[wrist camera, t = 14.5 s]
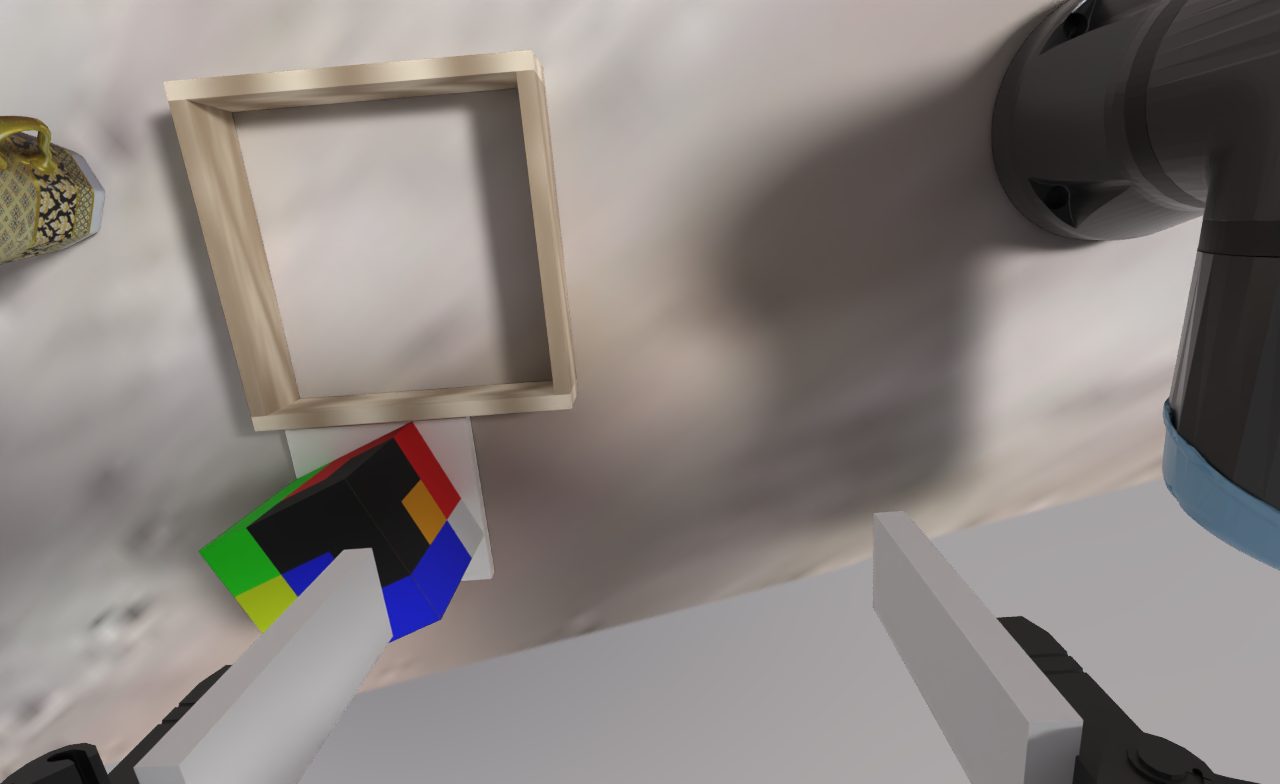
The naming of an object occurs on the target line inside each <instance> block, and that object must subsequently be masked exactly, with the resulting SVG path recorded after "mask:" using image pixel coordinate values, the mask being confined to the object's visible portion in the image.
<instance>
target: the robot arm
mask: <svg viewBox="0 0 1280 784" xmlns="http://www.w3.org/2000/svg"><path fill="white" fill-rule="evenodd" d="M992 148H993V156H994V162H995V166H996V170H997V173H998V176H999V179H1000V181H1001V183H1002V186H1003V188H1004V190H1005V192H1006V193H1007V195H1008V197H1009V198H1010V200H1011V201H1012V202H1013V204H1014V205H1015V206H1016V208H1017V209H1018V210H1019V211H1020V212H1021V213H1022V214H1023V215H1024V216H1025V217H1027V218H1028V219H1029V220H1030V221H1032V222H1033V223H1034V224H1036V225H1038V226H1039V227H1041V228H1043V229H1045V230H1047V231H1049V232H1051V233H1054V234H1057V235H1060V236H1063V237H1068V238H1073V239H1081V240H1124V239H1131V238H1137V237H1142V236H1146V235H1150V234H1153V233H1156V232H1159V231H1162V230H1165V229H1167V228H1170V227H1173V226H1175V225H1178V224H1181V223H1183V222H1186V221H1189V220H1191V219H1194V218H1197V217H1199V216H1202V215H1204V216H1203V222H1202V228H1201V234H1200V240H1199V246H1198V248H1197V255H1196V260H1195V266H1194V271H1193V277H1192V282H1191V287H1190V292H1189V298H1188V303H1187V308H1186V313H1185V319H1184V324H1183V329H1182V334H1181V340H1180V345H1179V350H1178V355H1177V361H1176V366H1175V371H1174V376H1173V382H1172V387H1171V392H1170V396H1169V397H1168V399H1167V400H1166V401H1165V403H1164V407H1163V419H1164V423H1165V426H1166V436H1165V444H1164V453H1163V462H1162V471H1163V477H1164V481H1165V483H1166V486H1167V488H1168V490H1169V491H1170V492H1171V493H1172V495H1173V496H1174V497H1175V498H1176V499H1177V501H1178V502H1179V504H1180V506H1181V508H1182V509H1183V510H1184V511H1185V512H1186V513H1187V514H1188V515H1189V516H1190V517H1191V518H1192V519H1193V520H1195V521H1196V522H1197V523H1198V524H1200V525H1201V526H1202V527H1203V528H1204V529H1206V530H1207V531H1209V532H1210V533H1211V534H1213V535H1214V536H1216V537H1217V538H1219V539H1221V540H1222V541H1224V542H1225V543H1227V544H1229V545H1230V546H1232V547H1234V548H1236V549H1237V550H1239V551H1241V552H1243V553H1245V554H1247V555H1249V556H1251V557H1253V558H1255V559H1256V560H1258V561H1261V562H1263V563H1265V564H1267V565H1269V566H1271V567H1273V568H1275V569H1278V570H1280V0H1069V1H1067V2H1066V3H1064V4H1063V5H1062V6H1060V7H1059V8H1058V9H1056V10H1055V11H1054V12H1053V13H1051V14H1050V15H1049V16H1048V17H1047V18H1046V19H1045V20H1044V21H1043V22H1042V23H1041V24H1040V25H1039V26H1038V27H1037V28H1036V29H1035V30H1034V31H1033V32H1032V33H1031V35H1030V36H1029V37H1028V38H1027V40H1026V41H1025V42H1024V44H1023V45H1022V46H1021V48H1020V49H1019V51H1018V53H1017V54H1016V56H1015V57H1014V59H1013V61H1012V63H1011V65H1010V66H1009V68H1008V71H1007V73H1006V75H1005V77H1004V79H1003V82H1002V85H1001V87H1000V90H999V94H998V97H997V101H996V105H995V110H994V115H993V124H992ZM873 608H874V610H875V611H876V613H877V615H878V617H879V619H880V621H881V622H882V624H883V626H884V627H885V629H886V631H887V633H888V635H889V637H890V638H891V640H892V642H893V644H894V645H895V647H896V649H897V651H898V653H899V655H900V656H901V658H902V660H903V662H904V664H905V665H906V667H907V669H908V671H909V673H910V674H911V676H912V678H913V680H914V682H915V683H916V685H917V687H918V689H919V691H920V692H921V694H922V696H923V698H924V700H925V701H926V703H927V705H928V707H929V708H930V710H931V712H932V714H933V716H934V718H935V719H936V721H937V723H938V725H939V727H940V728H941V730H942V732H943V734H944V735H945V737H946V739H947V741H948V743H949V745H950V746H951V748H952V750H953V752H954V754H955V755H956V757H957V759H958V761H959V763H960V764H961V766H962V768H963V770H964V772H965V773H966V775H967V777H968V779H969V781H970V782H971V784H1259V783H1254V782H1249V781H1244V780H1239V779H1234V778H1229V777H1225V776H1221V775H1218V774H1214V773H1213V772H1212V771H1211V769H1210V768H1209V767H1208V766H1207V765H1206V764H1205V762H1203V761H1202V760H1201V759H1199V758H1198V757H1196V756H1195V755H1194V754H1192V753H1191V752H1189V751H1188V750H1186V749H1185V748H1183V747H1181V746H1179V745H1177V744H1175V743H1173V742H1171V741H1169V740H1167V739H1165V738H1162V737H1159V736H1155V735H1151V734H1148V733H1144V732H1143V731H1141V729H1140V728H1139V727H1138V726H1137V725H1136V724H1135V723H1134V722H1133V721H1132V720H1131V719H1130V718H1129V717H1128V716H1127V715H1126V714H1125V713H1124V711H1122V709H1121V708H1120V707H1119V706H1118V705H1117V704H1116V703H1115V702H1114V701H1113V700H1112V699H1111V698H1110V697H1109V696H1108V695H1107V694H1106V693H1105V691H1104V690H1103V689H1102V688H1101V687H1100V686H1099V685H1098V684H1097V683H1096V682H1095V681H1094V680H1093V679H1092V678H1091V677H1090V676H1089V675H1088V674H1087V673H1084V672H1083V669H1082V667H1081V666H1080V665H1079V664H1078V663H1077V662H1076V661H1075V660H1074V659H1073V658H1072V657H1071V656H1068V654H1067V651H1066V650H1064V648H1063V647H1062V646H1061V645H1060V644H1059V643H1058V642H1057V641H1056V640H1055V639H1054V638H1053V637H1052V636H1051V635H1050V634H1049V633H1048V632H1047V631H1045V630H1044V629H1042V628H1040V627H1039V626H1037V625H1035V624H1034V623H1032V622H1030V621H1029V620H1027V619H1026V618H1024V617H1022V616H1018V617H1002V618H996V617H995V616H994V615H993V614H992V613H991V611H990V610H989V609H988V608H987V607H986V606H985V604H984V603H983V602H982V601H981V600H980V599H979V597H978V596H977V595H976V594H975V593H974V591H973V590H972V589H971V588H970V587H969V586H968V584H967V583H966V582H965V581H964V580H963V579H962V577H961V576H960V575H959V574H958V573H957V572H956V570H955V569H954V568H953V567H952V566H951V565H950V563H949V562H948V561H947V560H946V559H945V558H944V556H943V555H942V554H941V553H940V552H939V551H938V549H937V548H936V547H935V546H934V545H933V543H932V542H931V541H930V540H929V539H928V538H927V536H926V535H925V534H924V533H923V532H922V530H921V529H920V528H919V527H918V526H917V525H916V523H915V522H914V521H913V520H912V519H911V518H910V516H909V515H908V514H907V513H906V512H905V511H894V512H880V513H874V548H873ZM392 637H393V634H392V630H391V626H390V622H389V618H388V613H387V609H386V605H385V601H384V597H383V593H382V588H381V584H380V580H379V576H378V572H377V568H376V564H375V559H374V555H373V551H372V548H363V549H349V550H343V551H342V552H341V553H340V554H339V555H338V556H337V557H336V558H335V560H334V561H333V562H332V563H331V564H330V565H329V566H328V567H327V568H326V569H325V570H324V571H323V572H322V573H321V574H320V575H319V576H318V577H317V578H316V579H315V580H314V581H313V582H312V583H311V584H310V585H309V586H308V587H307V588H306V590H305V591H304V592H303V593H302V594H301V595H300V596H299V597H298V598H297V599H296V600H295V601H294V602H293V603H292V604H291V605H290V606H289V607H288V608H287V609H286V610H285V611H284V612H283V613H282V614H281V615H280V616H279V617H278V619H277V620H276V621H275V622H274V623H273V624H272V625H271V626H270V627H269V628H268V629H267V630H266V631H265V632H264V633H263V634H262V635H261V636H260V637H259V638H258V639H257V640H256V641H255V642H254V643H253V644H252V645H251V646H250V647H249V649H248V650H247V651H246V652H245V653H244V654H243V655H242V656H241V657H240V658H239V659H238V660H237V661H236V662H235V663H234V664H233V665H225V666H224V667H222V668H221V669H220V670H218V671H217V672H215V673H214V674H212V675H211V676H209V677H208V678H206V679H205V680H203V681H202V682H200V683H199V684H198V685H197V686H196V687H195V688H194V689H193V690H192V691H191V692H190V693H189V694H188V695H187V696H186V697H185V698H184V699H183V700H182V701H181V702H180V703H179V707H175V708H174V709H173V710H172V711H171V712H170V713H169V714H168V715H167V716H166V717H165V718H164V719H163V720H162V724H158V725H157V726H156V727H155V728H154V729H153V730H152V731H151V732H150V733H149V734H148V735H147V736H146V737H145V738H144V739H143V740H142V741H141V742H140V743H139V744H138V745H137V746H136V747H135V748H134V749H133V750H132V751H131V752H130V753H129V754H128V755H127V756H126V757H125V758H124V759H123V760H122V761H121V762H120V763H119V764H118V765H117V766H116V767H115V768H114V769H113V770H112V771H111V772H110V773H109V774H108V775H107V772H106V770H105V767H104V765H103V763H102V760H101V758H100V756H99V753H98V751H97V748H96V746H95V745H91V744H88V743H81V744H73V745H68V746H65V747H62V748H59V749H57V750H54V751H51V752H49V753H47V754H45V755H43V756H41V757H39V758H37V759H35V760H33V761H31V762H29V763H27V764H26V765H24V766H23V767H22V768H20V769H19V770H17V771H16V772H14V773H13V774H11V775H10V776H8V777H7V778H6V779H5V780H4V781H3V782H2V783H1V784H298V782H299V781H300V779H301V778H302V776H303V775H304V773H305V771H306V770H307V768H308V767H309V765H310V764H311V762H312V761H313V759H314V757H315V756H316V754H317V753H318V751H319V750H320V748H321V746H322V745H323V744H324V742H325V741H326V739H327V737H328V736H329V734H330V733H331V731H332V730H333V728H334V726H335V725H336V723H337V722H338V720H339V719H340V717H341V716H342V714H343V713H344V711H345V709H346V708H347V706H348V705H349V703H350V702H351V700H352V699H353V697H354V696H355V694H356V693H357V691H358V689H359V688H360V686H361V685H362V683H363V682H364V680H365V679H366V677H367V675H368V674H369V672H370V671H371V669H372V668H373V666H374V665H375V663H376V662H377V660H378V658H379V657H380V655H381V654H382V652H383V651H384V649H385V648H386V646H387V645H388V643H389V641H390V640H391V638H392Z"/></svg>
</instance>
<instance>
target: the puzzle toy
mask: <svg viewBox="0 0 1280 784" xmlns="http://www.w3.org/2000/svg"><path fill="white" fill-rule="evenodd" d="M483 536H484V533H483V532H482V530H481V529H480V527H479V525H478V524H477V522H476V521H475V519H474V518H473V516H472V514H471V513H470V511H469V510H468V508H467V507H466V505H465V503H464V502H463V500H462V499H461V497H460V495H459V494H458V492H457V491H456V489H455V488H454V486H453V484H452V483H451V481H450V480H449V478H448V477H447V475H446V473H445V472H444V470H443V469H442V467H441V466H440V464H439V462H438V461H437V459H436V458H435V456H434V455H433V453H432V451H431V450H430V448H429V447H428V445H427V444H426V442H425V440H424V439H423V437H422V436H421V434H420V432H419V431H418V429H417V428H416V426H415V425H414V423H413V421H411V422H409V423H407V424H405V425H404V426H402V427H400V428H398V429H396V430H394V431H392V432H390V433H388V434H386V435H384V436H382V437H380V438H378V439H376V440H374V441H372V442H370V443H368V444H366V445H364V446H362V447H360V448H358V449H356V450H354V451H352V452H350V453H348V454H346V455H344V456H342V457H340V458H338V459H336V460H334V461H332V462H330V463H328V464H326V465H324V466H322V467H320V468H318V469H316V470H314V471H312V472H310V473H308V474H306V475H304V476H302V477H300V478H298V479H296V480H295V481H293V482H292V483H291V484H289V485H288V486H286V487H285V488H284V489H282V490H281V491H280V492H278V493H277V494H276V495H274V496H273V497H272V498H270V499H269V500H267V501H266V502H265V503H263V504H262V505H261V506H259V507H258V508H257V509H255V510H254V511H253V512H251V513H250V514H248V515H247V516H246V517H244V518H243V519H242V520H240V521H239V522H238V523H236V524H235V525H234V526H232V527H231V528H229V529H228V530H227V531H225V532H224V533H223V534H221V535H220V536H219V537H217V538H216V539H215V540H213V541H212V542H210V543H209V544H208V545H206V546H205V547H204V548H202V549H201V550H200V551H198V552H199V553H200V554H201V555H202V557H203V558H204V559H205V561H206V562H207V563H208V564H209V566H210V567H211V568H212V569H213V571H214V572H215V573H216V575H217V576H218V577H219V578H220V580H221V581H222V582H223V584H224V585H225V586H226V587H227V589H228V590H229V591H230V592H231V594H232V595H233V596H234V598H235V599H236V600H237V601H238V603H239V604H240V605H241V606H242V608H243V609H244V610H245V612H246V613H247V614H248V615H249V617H250V618H251V619H252V621H253V622H254V623H255V624H256V626H257V627H258V628H259V629H260V631H261V632H262V633H264V632H265V631H266V630H267V629H268V628H269V627H270V626H271V625H272V624H273V623H274V622H275V621H276V620H277V619H278V617H279V616H280V615H281V614H282V613H283V612H284V611H285V610H286V609H287V608H288V607H289V606H290V605H291V604H292V603H293V602H294V601H295V600H296V599H297V598H298V597H299V596H300V595H301V594H302V593H303V592H304V591H305V590H306V588H307V587H308V586H309V585H310V584H311V583H312V582H313V581H314V580H315V579H316V578H317V577H318V576H319V575H320V574H321V573H322V572H323V571H324V570H325V569H326V568H327V567H328V566H329V565H330V564H331V563H332V562H333V561H334V560H335V558H336V557H337V556H338V555H339V554H340V553H341V552H342V551H343V550H349V549H363V548H372V551H373V555H374V559H375V564H376V568H377V572H378V576H379V580H380V584H381V588H382V593H383V597H384V601H385V605H386V609H387V613H388V618H389V622H390V626H391V630H392V634H393V637H392V638H391V640H390V641H389V643H390V642H392V641H394V640H396V639H399V638H401V637H403V636H405V635H408V634H410V633H412V632H414V631H416V630H419V629H421V628H423V627H425V626H428V625H430V624H432V623H434V622H436V621H439V620H441V619H442V617H443V615H444V613H445V611H446V609H447V607H448V605H449V603H450V601H451V599H452V597H453V595H454V593H455V591H456V589H457V587H458V585H459V583H460V581H461V579H462V577H463V575H464V573H465V572H466V570H467V568H468V566H469V564H470V562H471V560H472V558H473V556H474V554H475V552H476V550H477V548H478V546H479V544H480V542H481V540H482V538H483Z"/></svg>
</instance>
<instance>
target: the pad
mask: <svg viewBox="0 0 1280 784" xmlns="http://www.w3.org/2000/svg"><path fill="white" fill-rule="evenodd" d="M411 421H413V423H414V425H415V426H416V428H417V429H418V431H419V432H420V434H421V436H422V437H423V439H424V440H425V442H426V444H427V445H428V447H429V448H430V450H431V451H432V453H433V455H434V456H435V458H436V459H437V461H438V462H439V464H440V466H441V467H442V469H443V470H444V472H445V473H446V475H447V477H448V478H449V480H450V481H451V483H452V484H453V486H454V488H455V489H456V491H457V492H458V494H459V495H460V497H461V499H462V500H463V502H464V503H465V505H466V507H467V508H468V510H469V511H470V513H471V514H472V516H473V518H474V519H475V521H476V522H477V524H478V525H479V527H480V529H481V530H482V532H483V533H484V536H483V538H482V540H481V542H480V544H479V546H478V548H477V550H476V552H475V554H474V556H473V558H472V560H471V562H470V564H469V566H468V568H467V570H466V572H465V573H464V575H463V577H462V579H461V581H468V580H483V579H492V577H493V574H494V572H495V571H494V564H493V558H492V552H491V546H490V539H489V533H488V527H487V521H486V514H485V508H484V502H483V496H482V489H481V483H480V477H479V471H478V464H477V458H476V452H475V446H474V439H473V433H472V427H471V421H470V416H465V417H451V418H437V419H423V420H409V421H395V422H381V423H367V424H353V425H339V426H325V427H311V428H297V429H287V430H285V433H286V437H287V441H288V446H289V450H290V454H291V458H292V462H293V466H294V470H295V474H296V478H297V479H298V478H300V477H302V476H304V475H306V474H308V473H310V472H312V471H314V470H316V469H318V468H320V467H322V466H324V465H326V464H328V463H330V462H332V461H334V460H336V459H338V458H340V457H342V456H344V455H346V454H348V453H350V452H352V451H354V450H356V449H358V448H360V447H362V446H364V445H366V444H368V443H370V442H372V441H374V440H376V439H378V438H380V437H382V436H384V435H386V434H388V433H390V432H392V431H394V430H396V429H398V428H400V427H402V426H404V425H405V424H407V423H409V422H411Z"/></svg>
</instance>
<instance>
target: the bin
mask: <svg viewBox="0 0 1280 784" xmlns="http://www.w3.org/2000/svg"><path fill="white" fill-rule="evenodd" d="M163 83H164V87H165V91H166V95H167V99H168V102H169V106H170V110H171V114H172V118H173V121H174V125H175V129H176V133H177V137H178V140H179V144H180V148H181V152H182V156H183V159H184V163H185V167H186V171H187V175H188V178H189V182H190V186H191V190H192V194H193V197H194V201H195V205H196V209H197V213H198V216H199V220H200V224H201V228H202V232H203V235H204V239H205V243H206V247H207V251H208V254H209V258H210V262H211V266H212V270H213V273H214V277H215V281H216V285H217V289H218V292H219V296H220V300H221V304H222V308H223V311H224V315H225V319H226V323H227V327H228V330H229V334H230V338H231V342H232V346H233V349H234V353H235V357H236V361H237V365H238V368H239V372H240V376H241V380H242V384H243V387H244V391H245V395H246V399H247V403H248V406H249V410H250V414H251V418H252V422H253V425H254V429H255V432H256V431H270V430H283V429H297V428H311V427H325V426H339V425H353V424H367V423H381V422H395V421H409V420H423V419H437V418H451V417H465V416H479V415H493V414H507V413H521V412H535V411H549V410H563V409H572V407H573V404H574V401H575V399H576V396H577V393H578V388H577V379H576V370H575V360H574V351H573V342H572V332H571V323H570V314H569V305H568V295H567V286H566V277H565V267H564V258H563V249H562V240H561V230H560V221H559V212H558V203H557V193H556V184H555V175H554V165H553V156H552V147H551V138H550V128H549V119H548V110H547V100H546V91H545V82H544V73H543V67H542V66H541V64H540V62H539V61H538V59H537V58H536V56H535V55H534V53H533V51H532V50H524V51H513V52H501V53H490V54H478V55H466V56H455V57H443V58H432V59H420V60H408V61H397V62H385V63H374V64H362V65H350V66H339V67H327V68H316V69H304V70H292V71H281V72H269V73H258V74H246V75H234V76H223V77H211V78H200V79H188V80H176V81H165V82H163ZM511 88H518V92H519V100H520V108H521V117H522V125H523V134H524V142H525V151H526V159H527V167H528V176H529V184H530V193H531V201H532V209H533V218H534V226H535V235H536V243H537V252H538V260H539V268H540V277H541V285H542V294H543V302H544V310H545V319H546V327H547V336H548V344H549V353H550V361H551V369H552V378H553V381H540V382H526V383H512V384H498V385H485V386H471V387H457V388H443V389H430V390H416V391H402V392H388V393H375V394H361V395H347V396H333V397H320V398H306V399H300V397H299V393H298V389H297V384H296V380H295V376H294V372H293V368H292V363H291V359H290V355H289V351H288V347H287V342H286V338H285V334H284V330H283V326H282V321H281V317H280V313H279V309H278V305H277V300H276V296H275V292H274V288H273V284H272V279H271V275H270V271H269V267H268V263H267V258H266V254H265V250H264V246H263V242H262V237H261V233H260V229H259V225H258V221H257V216H256V212H255V208H254V204H253V200H252V195H251V191H250V187H249V183H248V179H247V174H246V170H245V166H244V162H243V158H242V153H241V149H240V145H239V141H238V137H237V133H236V128H235V124H234V120H233V116H232V112H239V111H251V110H263V109H275V108H286V107H298V106H310V105H322V104H334V103H345V102H357V101H369V100H381V99H393V98H404V97H416V96H428V95H440V94H452V93H464V92H475V91H487V90H499V89H511Z"/></svg>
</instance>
